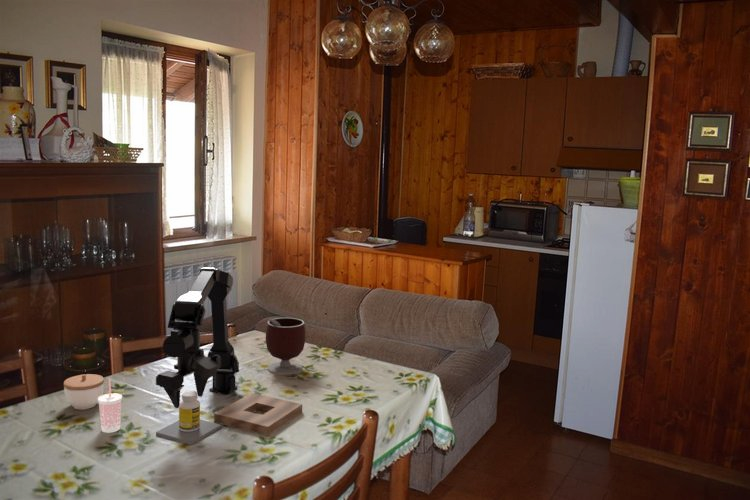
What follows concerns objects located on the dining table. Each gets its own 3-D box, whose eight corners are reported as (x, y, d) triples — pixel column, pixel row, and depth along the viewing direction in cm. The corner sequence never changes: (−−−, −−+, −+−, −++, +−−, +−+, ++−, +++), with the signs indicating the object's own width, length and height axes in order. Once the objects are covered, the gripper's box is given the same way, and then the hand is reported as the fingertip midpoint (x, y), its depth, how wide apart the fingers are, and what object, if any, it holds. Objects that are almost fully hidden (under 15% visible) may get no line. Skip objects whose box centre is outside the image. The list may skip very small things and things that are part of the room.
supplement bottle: (194, 433, 166) (193, 398, 165) (175, 431, 167) (175, 396, 166) (203, 425, 172) (203, 391, 170) (185, 423, 173) (185, 389, 171)
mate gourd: (284, 360, 232) (285, 307, 229) (312, 368, 224) (314, 314, 221) (253, 370, 219) (254, 315, 216) (282, 379, 211) (283, 322, 208)
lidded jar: (58, 404, 184) (57, 374, 182) (95, 395, 191) (94, 366, 190) (73, 415, 176) (72, 384, 175) (110, 406, 184) (110, 375, 183)
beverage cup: (128, 426, 171) (126, 377, 169) (111, 435, 165) (110, 384, 163) (110, 422, 173) (108, 374, 171) (93, 431, 167) (91, 381, 165)
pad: (156, 434, 167) (155, 432, 166) (186, 418, 177) (186, 416, 177) (191, 444, 162) (191, 441, 162) (221, 427, 173) (221, 424, 172)
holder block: (214, 421, 176) (214, 413, 176) (251, 400, 192) (251, 392, 192) (267, 435, 169) (267, 426, 168) (302, 412, 185) (302, 404, 185)
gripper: (188, 360, 154) (188, 420, 157) (235, 341, 171) (234, 396, 173) (153, 353, 159) (154, 411, 161) (202, 335, 176) (202, 389, 178)
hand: (188, 402), depth 168 cm, fingers open, 9 cm apart
